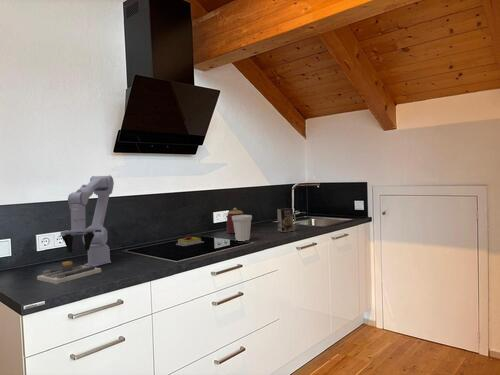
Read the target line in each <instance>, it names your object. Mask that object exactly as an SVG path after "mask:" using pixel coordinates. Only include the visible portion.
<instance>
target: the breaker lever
mask: <svg viewBox="0 0 500 375" xmlns="http://www.w3.org/2000/svg"><path fill="white" fill-rule="evenodd" d="M61 264H62V268H63V273H64V272H68V271H72V270H73V269H72V266H73V261H70V260H68V261H67V260H66V261H63V262H61Z"/></svg>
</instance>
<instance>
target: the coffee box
mask: <svg viewBox="0 0 500 375" xmlns="http://www.w3.org/2000/svg"><path fill="white" fill-rule="evenodd" d="M276 210H277V213H276V214H277V232H278V231H281V232H286V231H293V232H294V212H293V210H294V209H293V208H277V209H276Z"/></svg>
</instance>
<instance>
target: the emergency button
mask: <svg viewBox="0 0 500 375" xmlns="http://www.w3.org/2000/svg"><path fill="white" fill-rule="evenodd" d="M201 243H202V244H203V243H204V241H202V238H201V237H196V236H185V237H184V238H180V239H177V243H176V244H175V245H176V246H182V247H187V246H191V245H196V244H201Z"/></svg>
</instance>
